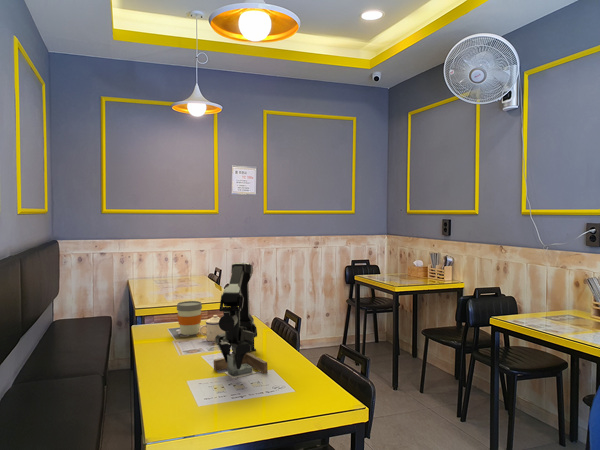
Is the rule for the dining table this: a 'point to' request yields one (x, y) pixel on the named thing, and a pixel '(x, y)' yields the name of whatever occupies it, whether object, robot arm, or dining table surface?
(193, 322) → the reusable coffee cup
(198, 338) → the dining table surface
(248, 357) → the brown l-shaped piece
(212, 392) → the dining table surface
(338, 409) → the dining table surface
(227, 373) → the beige flat tile
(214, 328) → the teacup with lid
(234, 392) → the dining table surface
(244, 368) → the bracket
